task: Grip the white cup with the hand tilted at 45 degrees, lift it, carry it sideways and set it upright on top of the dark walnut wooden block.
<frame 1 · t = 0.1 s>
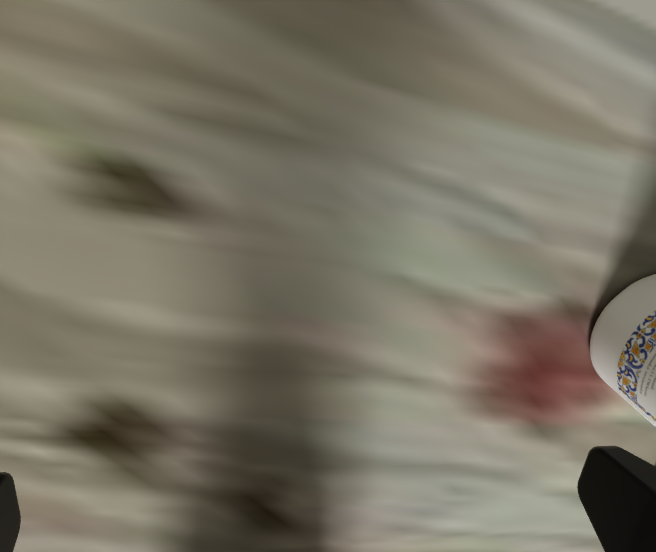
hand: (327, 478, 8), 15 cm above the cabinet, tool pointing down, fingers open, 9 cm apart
bath foam: (643, 326, 27), on the cabinet
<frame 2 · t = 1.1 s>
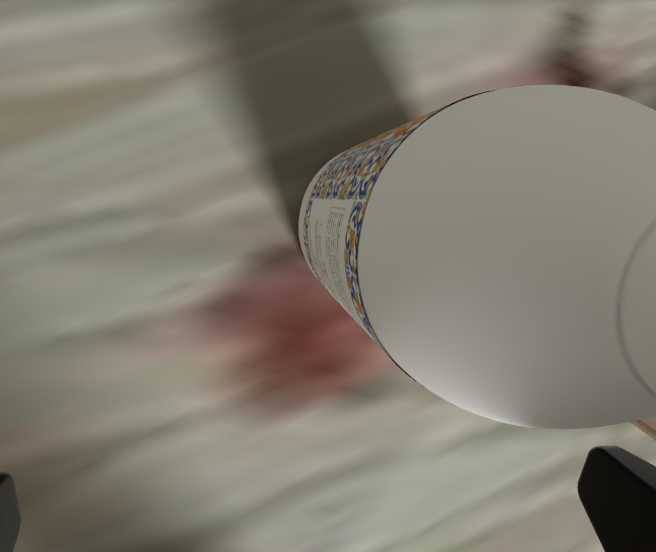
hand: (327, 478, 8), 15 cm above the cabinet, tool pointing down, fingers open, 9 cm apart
bath foam: (373, 225, 23), on the cabinet
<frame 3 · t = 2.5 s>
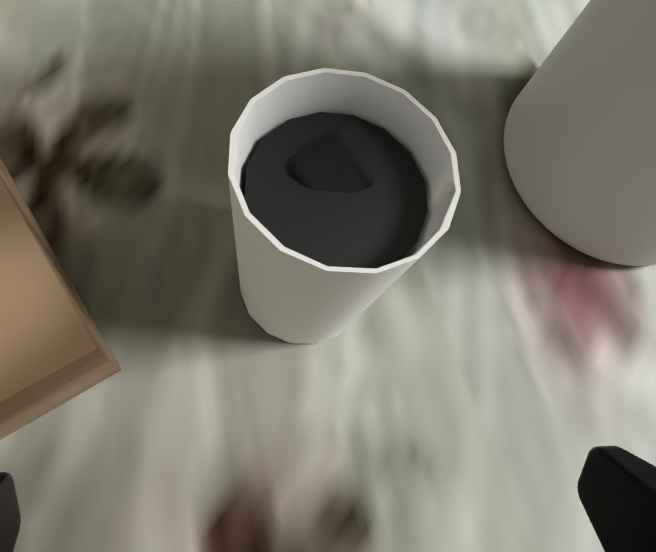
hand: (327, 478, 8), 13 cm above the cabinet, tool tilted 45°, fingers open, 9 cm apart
white cup: (302, 284, 24), on the cabinet
cylinder vase: (597, 171, 29), on the cabinet
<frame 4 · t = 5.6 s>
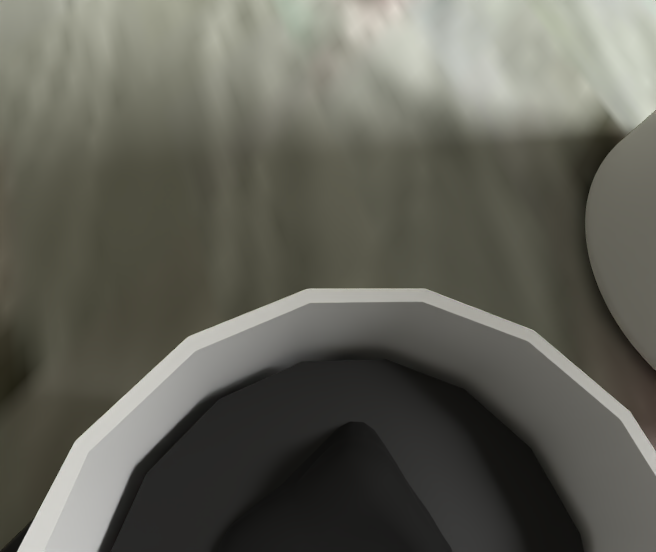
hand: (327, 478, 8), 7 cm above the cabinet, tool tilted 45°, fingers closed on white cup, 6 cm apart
white cup: (287, 535, 14), on the cabinet, touching gripper
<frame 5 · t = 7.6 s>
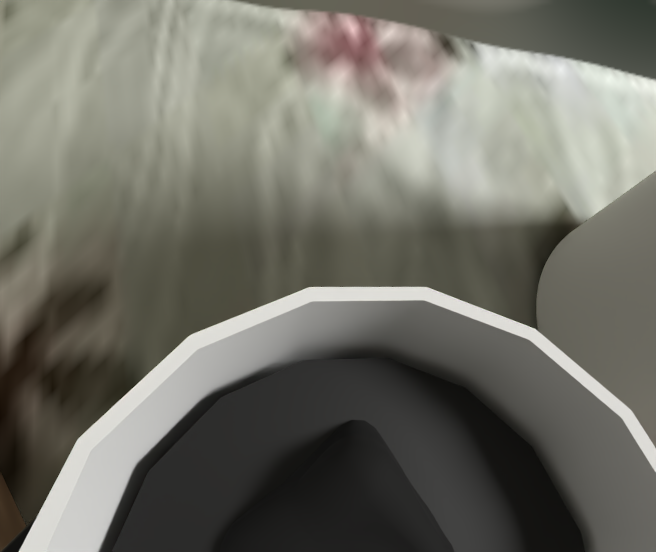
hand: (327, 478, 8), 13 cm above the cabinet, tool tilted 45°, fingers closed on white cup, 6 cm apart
white cup: (287, 533, 14), point 6 cm above the cabinet, touching gripper
cylinder vase: (641, 337, 26), on the cabinet
when the fingers open (11 cm above the cabinet, at t = 9.5 s): white cup stays where it is, resting on walnut block.
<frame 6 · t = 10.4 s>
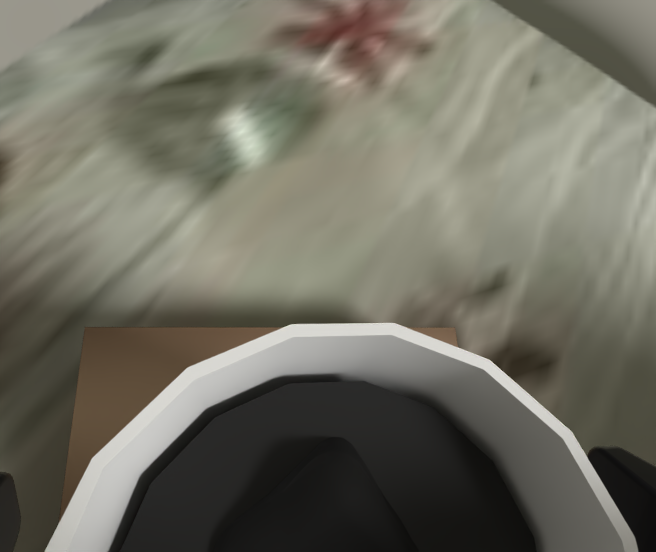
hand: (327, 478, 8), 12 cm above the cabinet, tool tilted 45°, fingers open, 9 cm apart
white cup: (281, 536, 14), point 4 cm above the cabinet, touching walnut block
walnut block: (274, 522, 18), on the cabinet
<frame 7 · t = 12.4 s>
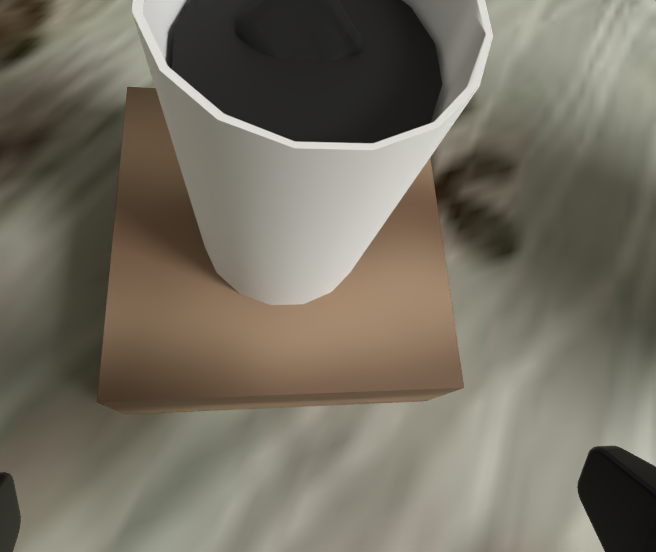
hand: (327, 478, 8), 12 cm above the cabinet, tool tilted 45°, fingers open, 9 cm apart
white cup: (283, 233, 19), point 4 cm above the cabinet, touching walnut block
walnut block: (279, 267, 22), on the cabinet
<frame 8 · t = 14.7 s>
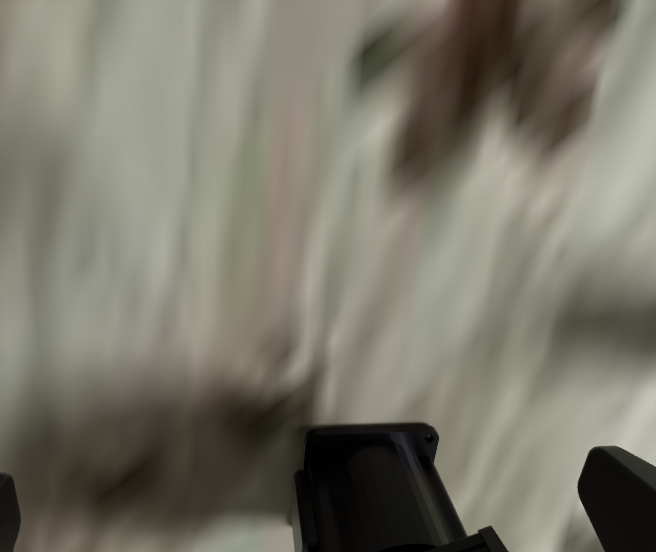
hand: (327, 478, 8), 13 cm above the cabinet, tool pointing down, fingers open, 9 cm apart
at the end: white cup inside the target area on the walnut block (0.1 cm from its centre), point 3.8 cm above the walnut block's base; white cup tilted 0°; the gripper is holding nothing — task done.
